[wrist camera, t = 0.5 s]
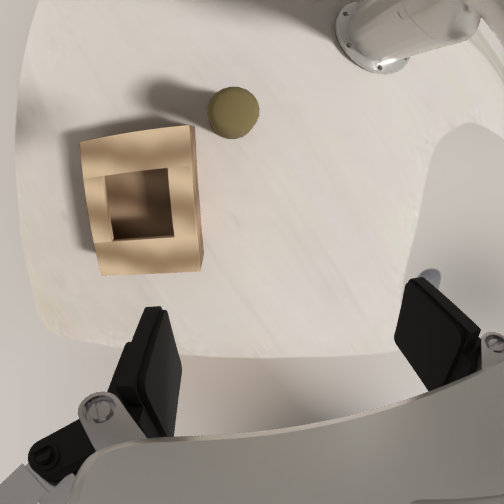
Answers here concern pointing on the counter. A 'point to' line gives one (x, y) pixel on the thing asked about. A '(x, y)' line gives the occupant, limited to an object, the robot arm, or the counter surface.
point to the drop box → (144, 201)
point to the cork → (233, 112)
